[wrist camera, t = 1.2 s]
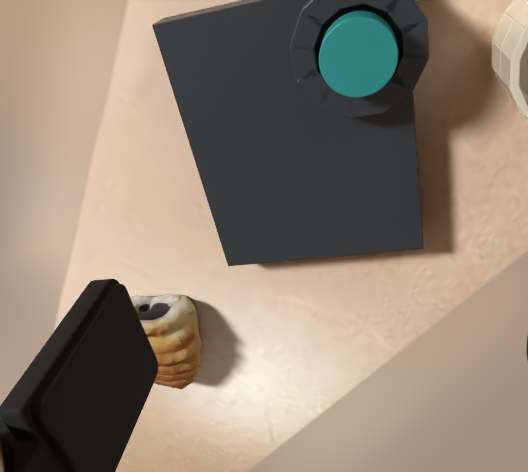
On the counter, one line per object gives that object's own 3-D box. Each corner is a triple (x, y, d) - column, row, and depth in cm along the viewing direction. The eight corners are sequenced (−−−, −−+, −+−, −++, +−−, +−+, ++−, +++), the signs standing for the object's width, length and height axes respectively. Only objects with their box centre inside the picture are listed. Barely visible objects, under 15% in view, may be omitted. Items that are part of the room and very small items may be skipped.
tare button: (315, 19, 24) (312, 26, 23) (392, 3, 23) (394, 9, 22) (327, 92, 26) (325, 103, 24) (399, 80, 25) (401, 91, 23)
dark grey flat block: (162, 13, 28) (139, 25, 25) (417, -46, 25) (424, -39, 22) (233, 250, 36) (222, 280, 33) (432, 232, 33) (439, 263, 30)
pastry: (216, 374, 44) (205, 410, 41) (145, 370, 45) (128, 404, 42) (196, 290, 39) (181, 324, 36) (116, 289, 40) (95, 322, 37)
